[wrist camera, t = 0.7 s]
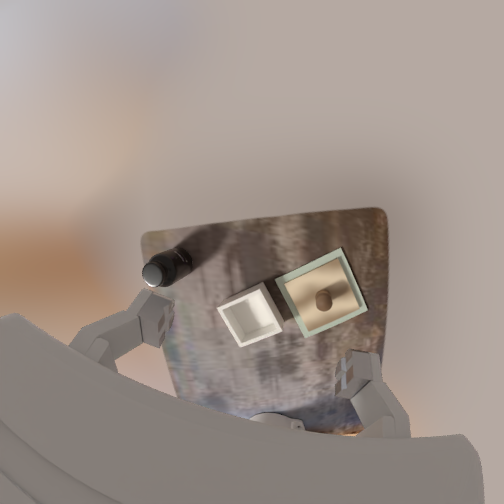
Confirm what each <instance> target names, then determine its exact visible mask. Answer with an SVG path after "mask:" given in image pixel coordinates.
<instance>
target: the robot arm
mask: <svg viewBox="0 0 504 504" xmlns="http://www.w3.org/2000/svg"><path fill="white" fill-rule="evenodd" d="M174 305H175V302H174V299H171V298H169V297H166V296H163V295H161V294H158V293H156V292H153V291H150V290H148V289H145V288H144V289H143V290H141V292H140V293H139V294H138V296H137V297H136V298H135V300H134V301H133V303H132V304H131V305H130V307H129V308H128V309H127V311H124V310H123V311H121V312H118V313H116V314H113V315H111V316H109V317H106V318H104V319H101V320H99V321H97V322H94V323H92V324H89V325H87V326H84V327H82V328H81V330H80V331H79V332H78V334H77V335H76V336H75V338H74V339H73V341H72V342H71V343H70V345H69V346H67V345H65V344H64V343H62V342H60V341H59V340H57V339H56V338H54V337H53V336H51V335H49V334H48V333H46V332H45V331H43V330H42V329H40V328H39V327H37V326H36V325H35V324H33V323H32V322H30V321H29V320H27V319H26V318H25V317H23V316H22V315H20V314H18V313H13V314H8V315H5V316H2V317H0V504H484V485H483V475H482V467H481V462H480V458H479V455H478V452H477V451H476V450H475V448H474V447H473V445H472V444H471V443H470V442H469V440H468V439H467V438H466V437H465V436H464V435H461V434H458V435H457V434H456V435H447V436H436V437H419V438H411V434H410V423H409V416H408V414H407V413H406V411H405V410H404V409H403V407H402V406H401V404H400V403H399V402H398V400H397V399H396V397H395V396H394V394H393V393H392V392H391V390H390V389H389V388H388V386H387V385H386V383H384V382H383V381H382V373H381V365H380V358H379V355H378V354H375V353H369V352H365V351H360V350H354V349H349V350H347V352H346V353H345V357H344V358H341V359H340V361H339V362H338V364H337V367H336V372H335V377H336V379H337V380H338V382H337V383H336V384H335V396H336V397H341V398H347V399H351V402H352V404H353V406H354V408H355V410H356V412H357V414H358V416H359V418H360V420H361V422H362V425H363V427H364V429H365V430H363V431H362V432H360V433H359V434H357V435H356V437H355V436H343V435H333V434H325V433H317V432H310V431H306V430H305V427H304V424H303V421H302V420H299V419H291V418H288V417H286V416H284V415H280V414H276V413H262V414H258V415H255V416H253V417H251V418H250V419H245V418H241V417H237V416H233V415H229V414H226V413H222V412H219V411H215V410H212V409H209V408H206V407H203V406H199V405H196V404H193V403H191V402H188V401H185V400H182V399H179V398H176V397H173V396H171V395H168V394H166V393H163V392H161V391H158V390H156V389H153V388H151V387H148V386H146V385H143V384H141V383H139V382H137V381H134V380H132V379H130V378H128V377H126V376H124V375H121V374H119V373H118V370H117V367H116V364H115V361H114V360H115V359H117V358H119V357H120V356H122V355H124V354H126V353H127V352H129V351H131V350H132V349H134V348H135V347H137V346H139V345H140V344H142V343H143V342H144V343H147V344H149V345H152V346H155V347H157V348H160V346H161V344H162V343H163V341H164V339H165V332H167V331H169V330H170V328H171V326H172V323H173V320H174V311H173V307H174Z"/></svg>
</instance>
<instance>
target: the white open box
mask: <svg viewBox="0 0 504 504" xmlns="http://www.w3.org/2000/svg"><path fill="white" fill-rule="evenodd" d="M217 309H218V311H219V313H220V314H221V316H222V318H223V320H224V321H225V323H226V325H227V326H228V328H229V330H230V331H231V333H232V335H233V336H234V338H235V340H236V341H237V343H238V345H239V346H240V347H243V346H245V345H248V344H251V343H254V342H256V341H259V340H261V339H264V338H267V337H269V336H272V335H274V334H277V333H279V332H282V331H283V326H284V320H283V318H282V316H281V314H280V312H279V311H278V309H277V307H276V305H275V303H274V301H273V299H272V297H271V296H270V294H269V292H268V290H267V288H266V286H265V284H264V282H262V283H260V284H258V285H256V286H253V287H251V288H249V289H247V290H245V291H243V292H240V293H238V294H236V295H234V296H232V297H229V298H227V299H225V300H223V301H222V302H221V304H220V305H219V306H218V307H217Z"/></svg>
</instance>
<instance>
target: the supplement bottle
mask: <svg viewBox="0 0 504 504" xmlns="http://www.w3.org/2000/svg"><path fill="white" fill-rule="evenodd" d="M191 269H192V259H191V256H190V255H189V253H188V252H187V251H186V250H184V249H182V248H173V249H170V250H167V251H164V252H161V253H159V254H156V255H154V256H153V257H152V258H151V259H150V260H149V262H148V263H147V264H146V265H145V266H144V268H143V271H142V272H143V273H142V274H143V275H142V276H143V278H144V281H145V282H146V283H147V284H148V285H149V286H152V287H158V286H160V287H168V286H170V285H172V284H174V283H175V282H177V281H179V280H180V279H182V278H184V277H185V276H187V275H188V274H189V273H190V271H191Z"/></svg>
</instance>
